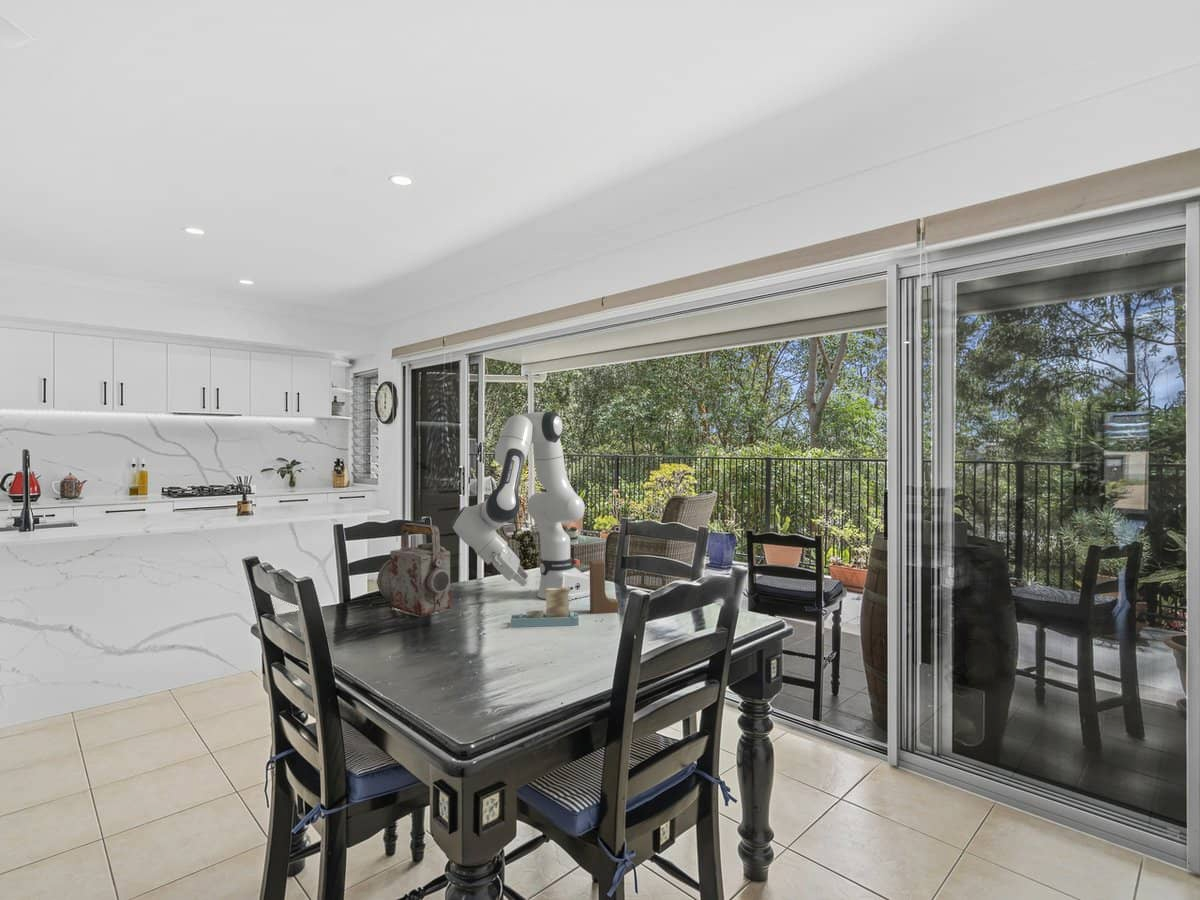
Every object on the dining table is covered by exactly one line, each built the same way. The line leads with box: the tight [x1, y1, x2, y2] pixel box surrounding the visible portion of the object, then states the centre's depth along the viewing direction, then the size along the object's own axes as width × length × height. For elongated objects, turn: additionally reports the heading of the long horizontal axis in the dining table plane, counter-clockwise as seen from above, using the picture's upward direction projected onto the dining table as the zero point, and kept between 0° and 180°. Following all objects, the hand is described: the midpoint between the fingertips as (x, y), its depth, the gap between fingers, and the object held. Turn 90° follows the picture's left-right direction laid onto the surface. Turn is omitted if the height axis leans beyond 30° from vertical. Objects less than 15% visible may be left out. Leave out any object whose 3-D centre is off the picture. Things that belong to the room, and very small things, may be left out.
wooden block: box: [589, 559, 619, 615], centre depth 214 cm, size 9×4×18 cm, turn 101°
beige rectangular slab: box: [545, 588, 570, 618], centre depth 200 cm, size 7×2×11 cm, turn 94°
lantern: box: [376, 522, 452, 616], centre depth 222 cm, size 16×27×30 cm, turn 51°
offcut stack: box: [524, 610, 544, 618], centre depth 200 cm, size 6×2×4 cm, turn 94°
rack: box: [508, 611, 581, 630], centre depth 200 cm, size 22×9×4 cm, turn 94°
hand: (525, 581), depth 199 cm, fingers open, 8 cm apart
